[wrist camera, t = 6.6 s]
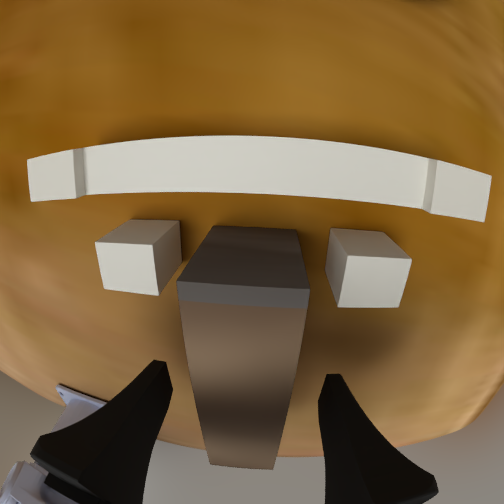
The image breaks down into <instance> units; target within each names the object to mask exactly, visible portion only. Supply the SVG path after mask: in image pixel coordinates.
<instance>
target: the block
mask: <svg viewBox="0 0 504 504" xmlns="http://www.w3.org/2000/svg"><path fill="white" fill-rule="evenodd" d="M176 282H177V291H178V299H179V307H180V315H181V322H182V329H183V336H184V343H185V349H186V355H187V361H188V367H189V372H190V378H191V383H192V388H193V393H194V398H195V403H196V408H197V412H198V417H199V421H200V426H201V430H202V434H203V438H204V442H205V446H206V450H207V454H208V458H209V462H210V464H212V465H219V466H228V467H237V468H250V469H270V470H272V469H273V467H274V464H275V460H276V456H277V453H278V449H279V445H280V441H281V437H282V433H283V429H284V425H285V421H286V416H287V412H288V408H289V403H290V399H291V394H292V389H293V385H294V380H295V375H296V370H297V365H298V359H299V354H300V349H301V343H302V337H303V332H304V326H305V320H306V314H307V307H308V301H309V294H310V286H309V282H308V277H307V273H306V269H305V265H304V261H303V256H302V252H301V248H300V244H299V240H298V236H297V232H296V230H295V229H277V228H258V227H236V226H213V227H212V228H211V230H210V231H209V233H208V234H207V236H206V237H205V239H204V240H203V242H202V243H201V245H200V246H199V247H198V249H197V250H196V252H195V253H194V255H193V256H192V258H191V259H190V261H189V262H188V264H187V265H186V267H185V269H184V270H183V272H182V273H181V275H180V276H179V278H178V279H177V281H176Z"/></svg>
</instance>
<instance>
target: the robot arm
mask: <svg viewBox="0 0 504 504" xmlns="http://www.w3.org/2000/svg"><path fill="white" fill-rule="evenodd" d="M56 390H57V391H58V393H59V394H60V396H61V397H62V399H63V400H64V402H65V403H66V405H67V406H66V408H65V409H64V411H63V413H62V414H61V416H60V418H59V419H58V421H57V423H56V424H55V426H54V428H53V429H52V431H51V433H49V434H45V435H42V436H40V438H39V439H38V440H37V442H36V444H35V446H34V447H33V449H32V451H31V453H30V455H31V457H32V458H33V459H34V460H35V462H34V463H30V464H29V463H27V462H26V461H22V462H21V461H18V462H16V463H15V464H14V466H13V467H12V469H11V471H10V472H9V474H8V476H7V478H6V480H5V482H4V484H3V486H2V489H1V491H0V504H142V502H143V493H144V487H145V481H146V476H147V471H148V466H149V462H150V458H151V453H152V449H153V447H154V444H155V441H156V439H157V436H158V433H159V431H160V428H161V426H162V423H163V421H164V418H165V416H166V413H167V410H168V408H169V404H170V400H171V396H172V392H173V387H172V384H171V380H170V376H169V372H168V368H167V364H166V362H164V361H158V360H153V361H152V362H151V363H150V364H149V365H148V366H147V367H146V368H145V369H144V370H143V371H142V372H141V373H140V374H139V375H138V376H137V377H136V378H135V379H134V380H133V381H132V382H131V383H130V384H129V385H128V386H127V387H126V388H124V389H123V390H122V391H121V392H120V393H119V394H118V395H116V396H115V397H114V398H113V399H112V400H110V401H109V402H108V403H107V402H104V401H101V400H98V399H95V398H92V397H89V396H86V395H84V394H81V393H78V392H76V391H73V390H71V389H68V388H66V387H64V386H61V385H57V386H56ZM318 415H319V425H320V432H321V438H322V445H323V451H324V457H325V476H326V477H325V478H326V479H325V480H326V482H325V483H326V484H325V485H326V486H325V504H423V503H424V502H426V501H428V500H429V499H431V498H432V497H434V496H435V495H437V493H438V487H437V483H436V480H435V478H434V475H432V474H430V473H428V472H427V471H425V470H423V469H422V468H420V467H418V466H417V465H416V464H414V463H413V462H411V461H410V460H409V459H407V458H406V457H405V456H404V455H403V454H401V453H400V452H399V451H398V450H397V449H396V448H395V447H393V446H392V445H391V444H390V443H389V442H388V441H387V440H386V439H385V437H384V436H383V435H382V434H381V433H380V432H379V431H378V430H377V428H376V427H375V426H374V425H373V423H372V422H371V421H370V420H369V418H368V417H367V416H366V414H365V413H364V411H363V410H362V408H361V407H360V406H359V404H358V403H357V401H356V399H355V398H354V396H353V395H352V393H351V391H350V390H349V388H348V386H347V385H346V383H345V381H344V379H343V377H342V376H341V375H340V374H327V375H326V378H325V381H324V384H323V387H322V390H321V393H320V396H319V399H318Z"/></svg>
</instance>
